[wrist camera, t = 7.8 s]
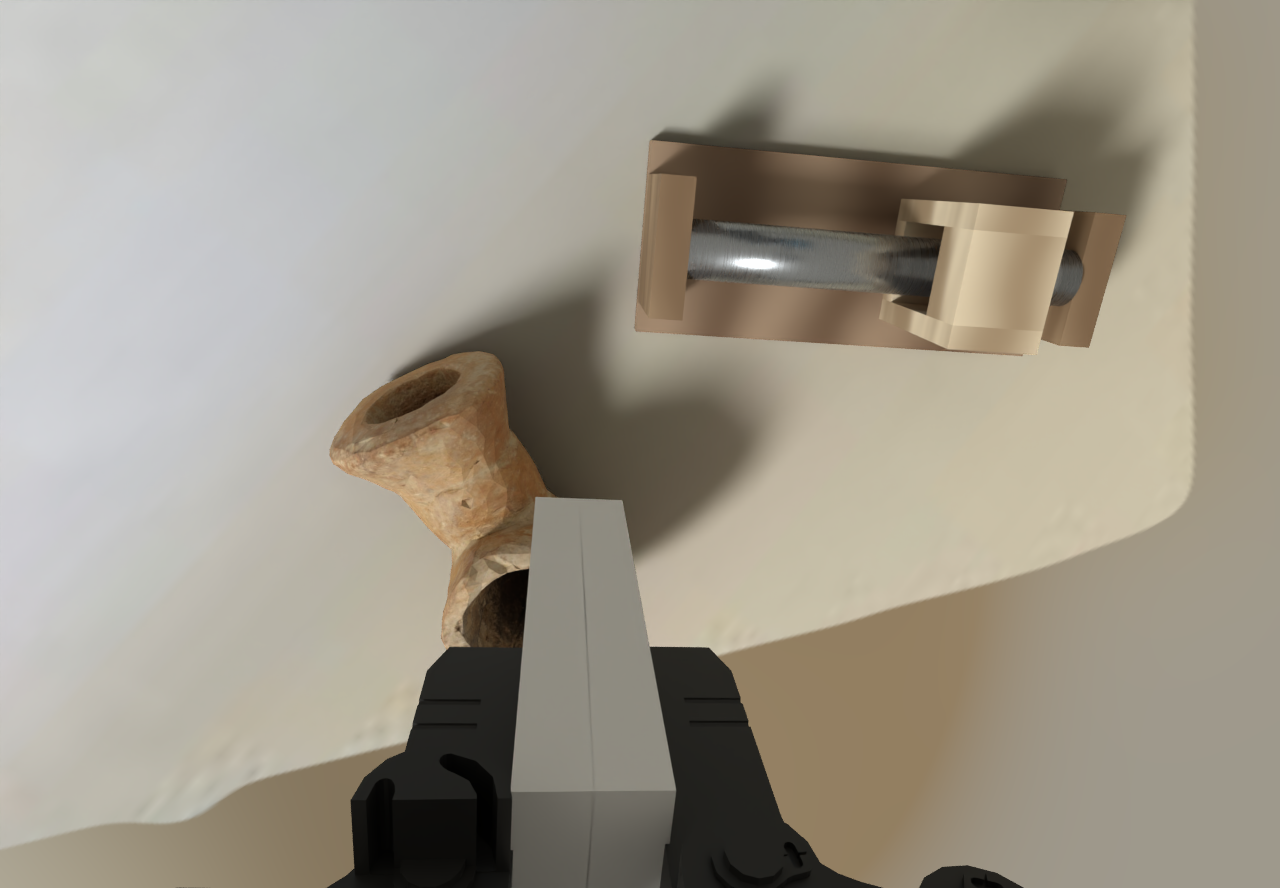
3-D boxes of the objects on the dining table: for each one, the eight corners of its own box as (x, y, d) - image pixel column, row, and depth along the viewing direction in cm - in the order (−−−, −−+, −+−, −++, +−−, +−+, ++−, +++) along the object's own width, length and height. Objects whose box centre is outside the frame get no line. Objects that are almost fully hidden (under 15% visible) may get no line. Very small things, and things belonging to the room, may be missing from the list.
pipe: (490, 315, 38) (466, 360, 28) (652, 553, 43) (677, 658, 34) (344, 407, 39) (273, 480, 29) (520, 630, 44) (509, 752, 35)
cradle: (634, 328, 39) (645, 351, 33) (649, 140, 36) (664, 134, 30) (1013, 352, 41) (1080, 378, 36) (1057, 179, 38) (1136, 179, 33)
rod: (678, 275, 35) (687, 282, 32) (684, 216, 34) (693, 219, 31) (1039, 301, 37) (1073, 310, 34) (1053, 247, 36) (1089, 252, 33)
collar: (878, 318, 38) (947, 349, 31) (901, 198, 36) (979, 203, 29) (953, 324, 38) (1036, 354, 32) (979, 205, 36) (1073, 211, 30)
